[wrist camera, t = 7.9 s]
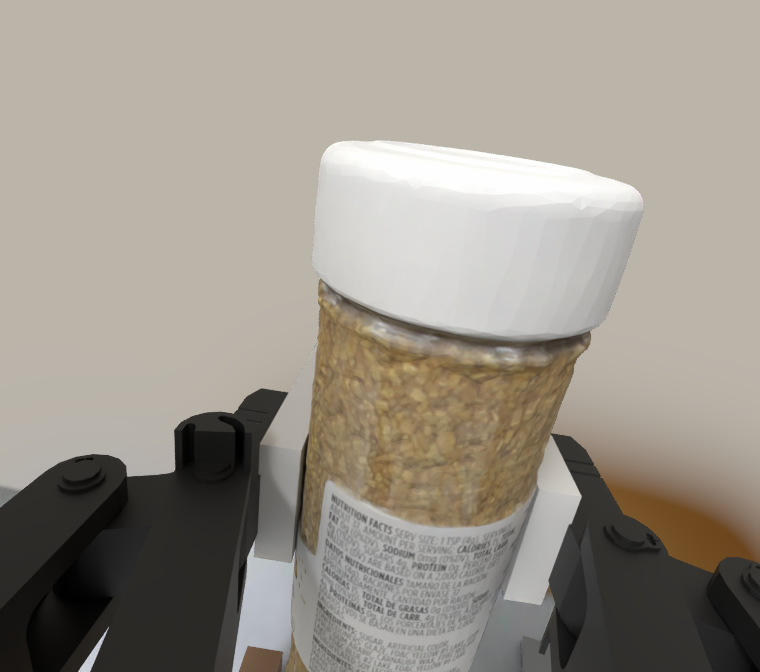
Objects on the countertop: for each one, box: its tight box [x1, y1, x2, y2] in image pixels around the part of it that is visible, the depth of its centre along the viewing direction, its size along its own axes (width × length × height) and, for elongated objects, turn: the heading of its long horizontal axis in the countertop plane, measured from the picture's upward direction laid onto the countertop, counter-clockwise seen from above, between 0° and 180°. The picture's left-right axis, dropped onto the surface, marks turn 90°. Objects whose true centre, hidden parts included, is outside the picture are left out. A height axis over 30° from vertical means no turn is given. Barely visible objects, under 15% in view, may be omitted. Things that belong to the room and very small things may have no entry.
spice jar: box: [286, 140, 644, 672], centre depth 9 cm, size 5×5×14 cm
